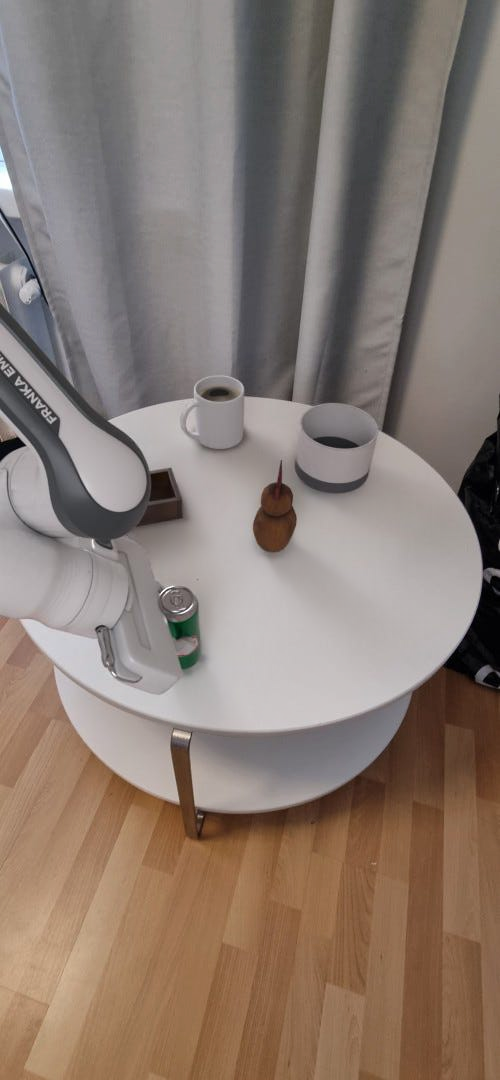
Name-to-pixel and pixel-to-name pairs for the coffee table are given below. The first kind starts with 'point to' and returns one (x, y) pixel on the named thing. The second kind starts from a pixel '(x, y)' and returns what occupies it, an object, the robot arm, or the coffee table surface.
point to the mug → (216, 412)
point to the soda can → (182, 619)
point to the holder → (162, 498)
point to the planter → (335, 447)
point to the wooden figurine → (275, 516)
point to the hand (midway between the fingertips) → (183, 625)
